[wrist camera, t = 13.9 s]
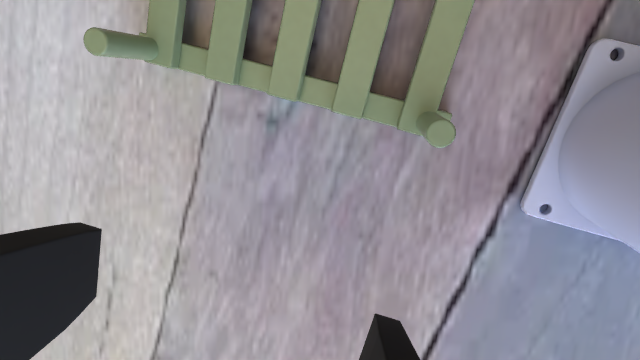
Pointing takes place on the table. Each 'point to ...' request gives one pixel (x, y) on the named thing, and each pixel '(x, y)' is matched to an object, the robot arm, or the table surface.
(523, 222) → the table surface
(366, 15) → the rack
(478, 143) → the table surface
